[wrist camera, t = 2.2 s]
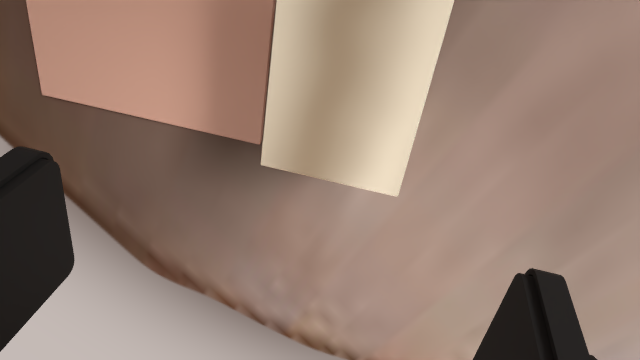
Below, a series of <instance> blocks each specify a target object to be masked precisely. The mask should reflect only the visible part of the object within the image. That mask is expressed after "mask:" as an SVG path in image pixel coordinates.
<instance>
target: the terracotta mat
mask: <svg viewBox="0 0 640 360" xmlns="http://www.w3.org/2000/svg"><path fill="white" fill-rule="evenodd" d="M275 2H276V0H26V3H27V9H28V15H29V21H30V27H31V33H32V38H33V44H34V50H35V56H36V62H37V68H38V74H39V79H40V85H41V91H42V95H46V96H50V97H54V98H59V99H63V100H67V101H72V102H76V103H81V104H85V105H89V106H94V107H98V108H102V109H107V110H111V111H115V112H120V113H124V114H128V115H133V116H137V117H142V118H146V119H150V120H155V121H159V122H163V123H168V124H172V125H176V126H181V127H185V128H190V129H194V130H198V131H203V132H207V133H211V134H216V135H220V136H224V137H229V138H233V139H238V140H242V141H246V142H251V143H255V144H259V145H260V143H261V142H262V136H263V126H264V115H265V105H266V95H267V84H268V74H269V64H270V53H271V43H272V33H273V23H274V12H275Z"/></svg>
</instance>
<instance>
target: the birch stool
mask: <svg viewBox="0 0 640 360" xmlns="http://www.w3.org/2000/svg"><path fill="white" fill-rule="evenodd" d="M453 4H454V0H277V3H276V13H275V24H274V34H273V44H272V54H271V64H270V75H269V85H268V95H267V105H266V115H265V126H264V136H263V146H262V156H261V165H263V166H267V167H271V168H276V169H280V170H284V171H289V172H293V173H297V174H301V175H306V176H310V177H314V178H319V179H323V180H327V181H332V182H336V183H340V184H344V185H349V186H353V187H357V188H362V189H366V190H370V191H375V192H379V193H383V194H387V195H392V196H396V197H398V194H399V191H400V187H401V184H402V180H403V177H404V173H405V170H406V166H407V163H408V159H409V156H410V152H411V149H412V146H413V142H414V139H415V135H416V132H417V128H418V125H419V121H420V118H421V114H422V111H423V107H424V104H425V101H426V97H427V94H428V90H429V87H430V83H431V80H432V76H433V73H434V69H435V66H436V62H437V59H438V56H439V52H440V49H441V45H442V42H443V38H444V35H445V31H446V28H447V24H448V21H449V17H450V14H451V11H452V7H453Z"/></svg>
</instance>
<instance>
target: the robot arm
mask: <svg viewBox="0 0 640 360" xmlns="http://www.w3.org/2000/svg"><path fill="white" fill-rule="evenodd" d="M73 265H74V253H73V247H72V241H71V234H70V228H69V223H68V216H67V210H66V204H65V198H64V192H63V185H62V179H61V173H60V168H59V165H58V164H57V163H56V162H54V160H53V157H52V156H51V155H50V154H49V153H47V152H43V151H39V150H35V149H30V148H26V147H16V148H14V149H12V150H10V151H9V152H7V153H6V154H4V155H3V156H2V157H0V351H1V350H2V349H3V348H4V347H5V346H6V345H7V343H9V341H10V340H11V339H12V338H13V337H14V336H15V334H17V332H18V331H19V330H20V329H21V328H22V327H23V326H24V325H25V324H26V322H27V321H28V320H29V319H30V318H31V317H32V316H33V314H34V313H35V312H36V311H37V310H38V309H39V308H40V307H41V306H42V305H43V303H44V302H45V301H46V300H47V299H48V298H49V297H50V296H51V294H52V293H53V292H54V291H55V290H56V289H57V288H58V286H59V285H60V284H61V283H62V282H63V281H64V280H65V279H66V278H67V277H68V275H69V274H70V272H71V270H72V268H73ZM473 360H597V359H596V358H595V357H594V356H592V355H589V352H588V349H587V346H586V343H585V340H584V337H583V334H582V331H581V328H580V325H579V321H578V318H577V315H576V312H575V309H574V306H573V303H572V300H571V297H570V294H569V290H568V287H567V284H566V281H565V279H564V277H563V276H561V275H558V274H554V273H550V272H545V271H541V270H537V269H533V268H532V269H529V270H528V271H527V272H526V273H525V274H521V273H518V274H516V275H515V277H514V279H513V281H512V283H511V285H510V287H509V289H508V291H507V293H506V295H505V297H504V299H503V301H502V303H501V305H500V307H499V309H498V311H497V313H496V315H495V317H494V318H493V320H492V322H491V324H490V326H489V328H488V330H487V332H486V334H485V336H484V338H483V340H482V342H481V344H480V346H479V348H478V350H477V352H476V354H475V356H474V358H473Z"/></svg>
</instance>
